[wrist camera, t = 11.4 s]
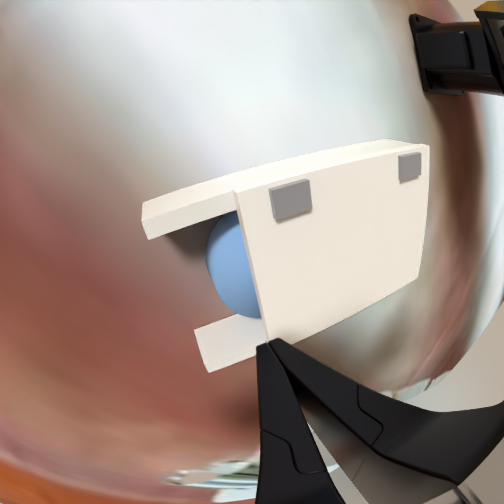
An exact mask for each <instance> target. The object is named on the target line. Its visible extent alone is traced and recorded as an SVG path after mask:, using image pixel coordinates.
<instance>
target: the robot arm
mask: <svg viewBox="0 0 504 504" xmlns="http://www.w3.org/2000/svg"><path fill="white" fill-rule="evenodd" d="M474 12H475V14H476V16H477V18H479V22H454V23H442V24H441V23H439V22H436V21H434V20H431V19H429V18H426V17H423V16H421V15H418V14H410V16H409V18H410V22H411V26H412V30H413V34H414V38H415V43H416V47H417V52H418V57H419V62H420V68H421V74H422V80H423V87H424V89H425V91H426V92H428V93H441V94H452V95H461V96H464V95H465V91H470V92H478V93H485V94H492V95H498V96H504V21H503V20H504V0H499V1H487V2H485V3H484V4H482V5H481V6H479V7H478V8H476V9H474ZM256 364H257V384H258V404H259V424H260V466H259V476H258V484H257V492H256V500H255V504H346V503H345V501H344V500H343V498H342V497H341V495H340V494H339V492H338V490H337V489H336V487H335V485H334V483H333V481H332V479H331V477H330V475H329V473H328V470H327V468H326V465H325V463H324V461H323V459H322V456H321V454H320V452H319V449H318V447H317V445H316V442H315V440H314V438H313V435H312V433H311V431H310V428H309V426H308V424H307V422H308V423H309V425H310V426H311V428H312V429H313V430H314V432H315V433H316V435H317V436H318V437H319V439H320V440H321V441H322V443H323V444H324V445H325V447H326V448H327V450H328V451H329V452H330V454H331V455H332V456H333V458H334V459H335V460H336V462H337V463H338V464H339V466H340V467H341V468H342V470H343V471H344V472H345V474H346V475H347V476H348V478H349V479H350V480H351V481H352V483H353V484H354V485H355V487H356V488H357V489H358V490H359V492H360V493H361V494H362V496H363V497H364V498H365V499H366V501H367V502H368V503H369V504H504V400H503V401H502V402H501V403H499V404H497V405H494V406H490V407H484V408H478V409H470V410H462V411H452V412H434V411H429V410H425V409H422V408H419V407H416V406H413V405H410V404H407V403H404V402H401V401H398V400H395V399H393V398H390V397H388V396H385V395H383V394H380V393H378V392H376V391H374V390H372V389H370V388H368V387H366V386H364V385H362V384H360V383H359V384H358V382H356V381H355V380H353V379H351V378H349V377H347V376H345V375H343V374H342V373H340V372H338V371H336V370H334V369H333V368H331V367H329V366H327V365H325V364H324V363H322V362H320V361H318V360H317V359H315V358H313V357H311V356H310V355H308V354H306V353H305V352H303V351H301V350H299V349H298V348H296V347H294V346H293V345H291V344H289V343H288V342H286V341H284V340H283V339H281V338H275V339H272V340H270V341H268V343H266V342H265V343H263V344H260V345H258V346H256Z"/></svg>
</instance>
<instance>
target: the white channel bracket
mask: <svg viewBox="0 0 504 504" xmlns="http://www.w3.org/2000/svg"><path fill="white" fill-rule="evenodd" d="M411 145H417V144H412V143H407V142H401V141H396V140H390V139H381V140H375V141H369V142H363V143H358V144H353V145H347V146H342V147H337V148H332V149H328V150H323V151H318V152H314V153H309V154H305V155H300V156H296V157H292V158H288V159H284V160H280V161H276V162H272V163H268V164H264V165H260V166H257V167H253V168H249V169H246V170H242V171H238V172H235V173H231V174H228V175H225V176H221V177H218V178H214V179H211V180H208V181H205V182H201V183H198V184H195V185H192V186H189V187H186V188H183V189H180V190H177V191H174V192H171V193H168V194H165V195H162V196H159V197H156V198H154V199H151V200H148V201H145V202H143V207H142V224H143V227H144V229H145V232H146V235H147V237H148V240H150V239H153V238H155V237H158V236H161V235H164V234H167V233H169V232H172V231H175V230H178V229H181V228H184V227H186V226H189V225H192V224H195V223H198V222H201V221H204V220H207V219H210V218H213V217H216V216H219V215H222V214H225V213H228V212H231V211H234V210H236V205H235V201H234V196H233V192H232V189H233V188H236V187H240V186H243V185H247V184H250V183H253V182H257V181H260V180H264V179H267V178H271V177H275V176H278V175H282V174H286V173H289V172H293V171H297V170H301V169H305V168H309V167H313V166H317V165H321V164H325V163H329V162H333V161H338V160H342V159H346V158H351V157H355V156H360V155H365V154H369V153H374V152H379V151H384V150H389V149H395V148H400V147H405V146H411ZM194 332H195V336H196V339H197V342H198V346H199V349H200V352H201V355H202V358H203V362H204V365H205V367H206V368H207V370H208V372H209V373H210V372H213V371H216V370H218V369H221V368H224V367H226V366H229V365H232V364H234V363H237V362H239V361H242V360H245V359H247V358H250V357H252V356H254V355H256V346H258V345H260V344H263V343H265V342H266V343H268V342H267V338H266V334H265V330H264V326H263V321H262V318H249V317H245V316H242V315H240V314H235V315H233V316H230V317H227V318H225V319H222V320H219V321H217V322H214V323H211V324H209V325H206V326H203V327H200V328H198V329H195V330H194Z"/></svg>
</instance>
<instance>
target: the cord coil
mask: <svg viewBox="0 0 504 504" xmlns="http://www.w3.org/2000/svg"><path fill="white" fill-rule="evenodd" d="M205 256H206V265H207V269H208V272H209V274H210V276H211V278H212V281H213V283H214V285H215V287H216V289H217V291H218V293H219V296H220V297H221V299H222V301H223V302H224V303H225V304H226V306H227V307H229V308H230V309H231V310H232V311H234V312H236V313H237V314H240V315H242V316H245V317H249V318H262V317H261V313H260V309H259V304H258V300H257V296H256V292H255V287H254V283H253V279H252V274H251V270H250V266H249V262H248V257H247V253H246V249H245V244H244V240H243V236H242V231H241V227H240V223H239V218H238V214H237V210H234V211H231V212H228V213H226V214H225V215H224V216H223V217H222V218H221V219H220V220H219V221H218V222H217V224H216V225H215V227H214V228H213V230H212V232H211V234H210V236H209V239H208V242H207V246H206V255H205Z"/></svg>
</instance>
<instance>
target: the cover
mask: <svg viewBox="0 0 504 504" xmlns="http://www.w3.org/2000/svg"><path fill="white" fill-rule="evenodd" d="M428 188H429V146H428V145H425V144H417V145H411V146H405V147H400V148H395V149H389V150H384V151H379V152H374V153H369V154H365V155H360V156H355V157H351V158H346V159H342V160H338V161H333V162H329V163H325V164H321V165H317V166H313V167H309V168H305V169H301V170H297V171H293V172H289V173H286V174H282V175H278V176H275V177H271V178H267V179H264V180H260V181H257V182H253V183H250V184H247V185H243V186H240V187H236V188H233V189H232V192H233V196H234V201H235V205H236V210H237V214H238V218H239V223H240V227H241V231H242V236H243V240H244V244H245V249H246V253H247V257H248V262H249V266H250V270H251V274H252V279H253V283H254V287H255V292H256V296H257V300H258V304H259V309H260V313H261V317H262V321H263V326H264V330H265V334H266V338H267V342H268V341H270V340H272V339H275V338H281V339H283V340H284V341H286V342H288V343H289V344H291V345H292V344H294V343H296V342H298V341H300V340H303V339H305V338H307V337H309V336H311V335H313V334H315V333H317V332H319V331H322V330H324V329H326V328H328V327H330V326H332V325H334V324H336V323H338V322H340V321H342V320H344V319H345V318H347V317H349V316H351V315H353V314H355V313H357V312H359V311H361V310H363V309H364V308H366V307H368V306H370V305H372V304H374V303H375V302H377V301H379V300H381V299H382V298H384V297H386V296H388V295H389V294H391V293H393V292H395V291H396V290H398V289H400V288H401V287H403V286H405V285H406V284H408V283H410V282H411V281H413V280H415V279H416V278H418V273H419V268H420V262H421V255H422V249H423V241H424V234H425V225H426V215H427V203H428Z"/></svg>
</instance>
